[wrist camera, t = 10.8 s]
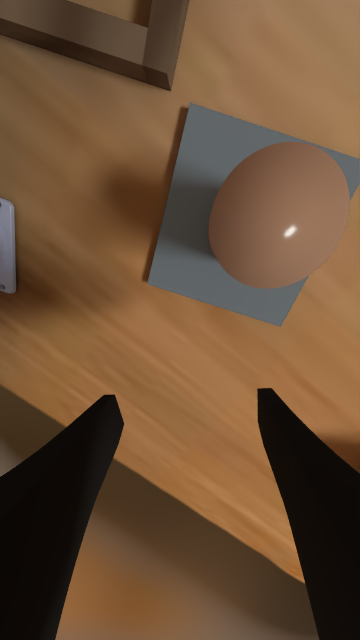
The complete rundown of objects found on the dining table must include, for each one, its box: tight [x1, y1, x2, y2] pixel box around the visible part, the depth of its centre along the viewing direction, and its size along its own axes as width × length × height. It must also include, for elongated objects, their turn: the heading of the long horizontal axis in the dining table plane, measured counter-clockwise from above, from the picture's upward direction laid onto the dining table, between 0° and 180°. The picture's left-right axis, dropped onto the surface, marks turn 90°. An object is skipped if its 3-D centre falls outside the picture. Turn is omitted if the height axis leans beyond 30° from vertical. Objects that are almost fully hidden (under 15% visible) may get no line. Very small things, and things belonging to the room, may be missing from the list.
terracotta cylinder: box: [208, 142, 350, 289], centre depth 12 cm, size 5×5×8 cm
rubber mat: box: [147, 103, 360, 327], centre depth 16 cm, size 12×12×1 cm
